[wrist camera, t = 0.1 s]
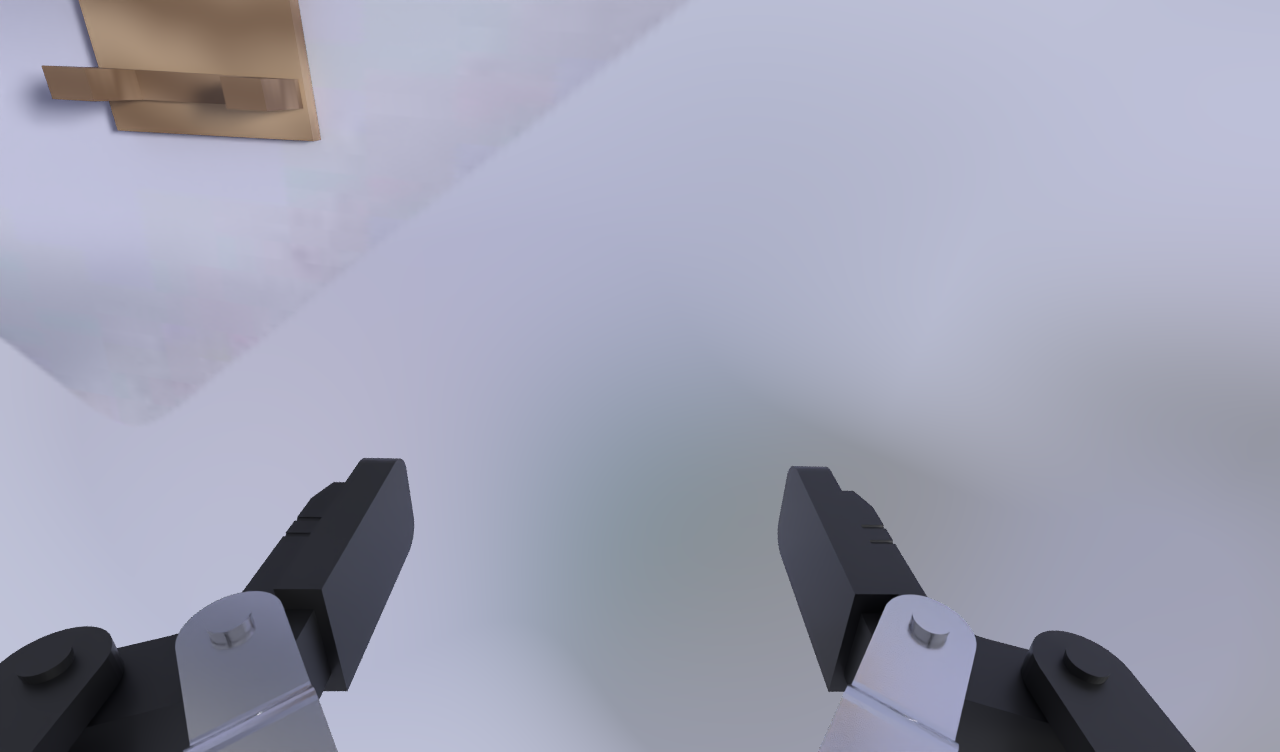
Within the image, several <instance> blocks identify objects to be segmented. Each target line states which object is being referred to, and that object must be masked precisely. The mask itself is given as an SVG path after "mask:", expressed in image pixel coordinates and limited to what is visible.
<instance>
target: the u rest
mask: <svg viewBox="0 0 1280 752" xmlns="http://www.w3.org/2000/svg"><path fill="white" fill-rule="evenodd" d="M79 3H80V7H81V10H82V13H83V17H84V20H85V23H86V27H87V30H88V33H89V37H90V40H91V43H92V47H93V50H94V53H95V57H96V60H97V63H98V67H69V66H42V69H43V72H44V75H45V78H46V81H47V84H48V87H49V90H50V93H51V95H52V98H53V99H63V100H80V101H109V103H110V106H111V110H112V113H113V116H114V120H115V123H116V126H117V130H119V131H137V132H156V133H174V134H192V135H211V136H229V137H247V138H266V139H284V140H302V141H317V140H321V138H320V132H319V125H318V119H317V113H316V107H315V101H314V95H313V89H312V83H311V77H310V71H309V65H308V59H307V53H306V47H305V41H304V35H303V29H302V22H301V16H300V10H299V4H298V0H79Z"/></svg>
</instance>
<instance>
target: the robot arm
mask: <svg viewBox="0 0 1280 752" xmlns="http://www.w3.org/2000/svg"><path fill="white" fill-rule="evenodd" d="M413 533H414V517H413V510H412V503H411V497H410V490H409V484H408V477H407V470H406V466H405V463H404V461H403V460H402V459H392V458H363V459H362V460H360V462H359V463H358V465H357V466H356V467H355V469H354V470H353V472H352V473H351V475H350V476H349V478H348V479H347V481H346V482H334V483H332V484H330V485H329V486H328V487H326V488H325V489H323V490H322V491H321V492H319V493H318V494H316V495H315V496H314V497H312V498H311V499H310V501H309V502H308V503H307V505H306V506H305V507H304V509H303V510H302V512H301V513H300V514H299V516H298V518H297V521H294V522H293V524H292V525H291V526H290V528H289V529H288V531H287V532H286V536H283V537H282V539H281V540H280V541H279V543H278V544H277V545H276V547H275V548H274V549H273V551H272V552H271V554H270V555H269V556H268V558H267V559H266V560H265V562H264V563H263V564H262V566H261V567H260V569H259V570H258V571H257V573H256V574H255V575H254V577H253V578H252V580H251V581H250V583H249V584H248V585H247V586H246V588H245V589H244V590H243V592H241V593H237V594H233V595H230V596H227V597H224V598H222V599H220V600H217V601H215V602H213V603H211V604H210V605H208V606H206V607H205V608H203V609H202V610H200V611H199V612H197V614H195V615H194V616H193V617H191V619H189V620H188V621H187V623H186V624H185V625H184V626H183V628H182V629H181V630H180V632H179V634H175V635H172V636H167V637H163V638H159V639H155V640H151V641H146V642H142V643H138V644H133V645H129V646H125V647H121V648H116V646H115V644H114V642H113V640H112V638H111V636H110V634H109V633H108V632H107V631H106V630H103V629H101V628H97V627H87V626H86V627H75V628H70V629H65V630H62V631H59V632H55V633H52V634H50V635H47V636H44V637H42V638H40V639H38V640H36V641H34V642H32V643H30V644H28V645H26V646H24V647H22V648H21V649H19V650H18V651H16V652H15V653H13V654H12V655H10V656H9V657H8V658H6V659H5V660H4V661H2V662H1V663H0V752H338V751H337V749H336V746H335V743H334V740H333V738H332V735H331V732H330V729H329V727H328V724H327V721H326V718H325V716H324V713H323V710H322V707H321V705H320V702H319V698H320V697H321V695H322V692H323V691H348V688H349V686H350V684H351V682H352V679H353V677H354V675H355V673H356V670H357V668H358V666H359V663H360V661H361V659H362V657H363V654H364V652H365V650H366V648H367V645H368V643H369V641H370V638H371V636H372V634H373V632H374V629H375V627H376V625H377V623H378V621H379V618H380V616H381V614H382V611H383V609H384V607H385V605H386V602H387V600H388V598H389V596H390V593H391V591H392V589H393V587H394V584H395V582H396V580H397V577H398V575H399V573H400V571H401V568H402V566H403V564H404V562H405V559H406V557H407V555H408V552H409V550H410V547H411V544H412V540H413ZM778 543H779V544H778V545H779V550H780V554H781V557H782V560H783V563H784V565H785V569H786V572H787V574H788V577H789V580H790V582H791V586H792V589H793V591H794V594H795V597H796V600H797V603H798V606H799V609H800V612H801V614H802V617H803V620H804V623H805V626H806V628H807V632H808V634H809V637H810V640H811V643H812V646H813V649H814V651H815V654H816V657H817V660H818V663H819V666H820V668H821V672H822V674H823V677H824V680H825V683H826V686H827V688H828V691H829V692H830V691H831V692H834V691H836V692H837V691H839V692H844V694H843V696H842V699H841V701H840V703H839V706H838V708H837V710H836V712H835V715H834V717H833V719H832V721H831V724H830V726H829V728H828V731H827V733H826V735H825V737H824V740H823V742H822V744H821V746H820V749H819V751H818V752H1196V751H1195V750H1194V749H1193V748H1192V747H1191V745H1190V744H1189V743H1188V742H1187V740H1186V739H1185V738H1184V737H1183V736H1182V734H1181V733H1180V732H1179V731H1178V729H1177V728H1176V727H1175V726H1174V724H1173V723H1172V722H1171V721H1170V719H1169V718H1168V717H1167V716H1166V715H1165V713H1164V712H1163V711H1162V710H1161V708H1160V707H1159V706H1158V705H1157V703H1156V702H1155V701H1154V700H1153V699H1152V697H1151V696H1150V695H1149V694H1148V692H1147V691H1146V690H1145V688H1144V687H1143V686H1142V685H1141V684H1140V682H1139V681H1138V680H1137V679H1136V678H1135V676H1134V675H1133V674H1132V672H1131V671H1130V670H1129V669H1128V668H1127V667H1126V666H1125V664H1124V663H1123V662H1121V661H1120V660H1119V659H1118V658H1117V657H1116V656H1114V655H1113V654H1112V653H1110V652H1109V651H1108V650H1106V649H1105V648H1103V647H1102V646H1100V645H1098V644H1097V643H1095V642H1093V641H1091V640H1088V639H1086V638H1084V637H1082V636H1079V635H1076V634H1073V633H1069V632H1064V631H1047V632H1043V633H1041V634H1039V635H1038V636H1036V637H1035V639H1034V641H1033V643H1032V645H1031V647H1030V649H1029V650H1027V649H1023V648H1019V647H1016V646H1012V645H1008V644H1004V643H1000V642H996V641H992V640H989V639H985V638H982V637H979V636H976V635H974V633H973V631H972V629H971V628H970V626H969V625H968V623H967V622H966V621H965V620H964V619H963V618H962V617H961V616H960V615H959V614H958V613H957V612H955V611H954V610H953V609H951V608H950V607H948V606H946V605H945V604H943V603H941V602H939V601H936V600H934V599H931V598H928V597H927V596H926V594H925V593H924V591H923V589H922V588H921V586H920V584H919V583H918V581H917V580H916V578H915V576H914V574H913V573H912V571H911V570H910V568H909V566H908V565H907V563H906V561H905V560H904V558H903V556H902V555H901V553H900V551H899V550H898V548H897V547H896V545H895V544H893V540H892V538H891V537H890V535H889V533H888V532H887V530H886V529H884V527H883V523H882V522H881V520H880V518H879V517H878V515H877V513H876V512H875V510H874V508H873V507H872V506H871V505H869V504H868V503H867V502H866V501H865V500H864V499H862V498H861V497H860V496H859V495H857V494H856V493H855V492H854V491H842V490H841V489H840V487H839V485H838V483H837V481H836V480H835V478H834V476H833V474H832V472H831V471H830V469H829V468H828V467H806V466H805V467H803V466H792V467H791V468H790V469H789V471H788V474H787V479H786V485H785V490H784V496H783V501H782V507H781V512H780V518H779V523H778Z"/></svg>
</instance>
